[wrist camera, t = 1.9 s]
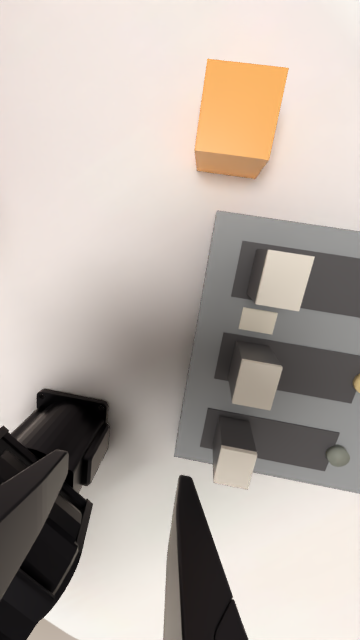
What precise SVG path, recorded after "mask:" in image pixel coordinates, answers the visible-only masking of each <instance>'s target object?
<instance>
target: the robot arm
mask: <svg viewBox="0 0 360 640" xmlns="http://www.w3.org/2000/svg"><path fill="white" fill-rule="evenodd" d="M42 394H43V395H44V396H45V397H44V396H43V395H42ZM101 406H103V407H104V408H102V407H101ZM107 418H108V403H107V402H106V401H103V400H97V399H92V398H87V397H82V396H76V395H71V394H66V393H61V392H55V391H50V390H45V389H42V390H41V391H39V392H38V393H37V409H36V410H35V411H34V412H33V413H32V414H31V415H30V416H29V417H28V418H27V419H26V420H25V421H24V422H23V423H22V424H21V425H20V426H19V427H17V428H16V429H15V430H14V431H13V432H12V433H11V434H10V433H9V432H8V431H9V430H8V429H7V428H5V427H4V426H2V427H1V428H0V640H26V639H27V638H28V636H29V635H30V633H31V632H32V630H33V629H34V627H35V625H36V624H37V623H38V622H39V621H40V620H41V619H42V618H44V617H45V616H46V614H47V613H48V612H49V611H50V610H51V609H52V608H53V606H54V605H55V604H56V603H57V601H58V600H59V598H60V597H61V595H62V594H63V592H64V591H65V589H66V587H67V586H68V584H69V582H70V580H71V578H72V576H73V574H74V572H75V570H76V568H77V565H78V563H79V560H80V556H81V553H82V549H83V544H84V540H85V536H86V532H87V527H88V523H89V519H90V514H91V510H92V506H93V503H91V502H90V501H89V500H88V499H84V498H83V497H82V496H81V495H80V494H79V491H80V489H81V487H82V485H84V486H88V485H89V484H91V482H92V480H93V478H94V476H95V474H96V472H97V470H98V468H99V465H100V463H101V461H102V460H103V458H104V455H105V453H106V451H107V449H108V443H109V431H110V426H109V424H107ZM232 598H233V596H232V593H231V590H230V587H229V584H228V581H227V578H226V575H225V572H224V569H223V567H222V564H221V561H220V558H219V555H218V552H217V549H216V546H215V543H214V541H213V538H212V535H211V532H210V529H209V526H208V523H207V520H206V517H205V514H204V512H203V509H202V506H201V503H200V500H199V497H198V494H197V491H196V488H195V486H194V483H193V480H192V478H191V477H189V476H184V475H180V476H179V479H178V485H177V490H176V495H175V502H174V509H173V516H172V523H171V530H170V537H169V544H168V552H167V565H166V588H165V611H164V634H163V640H248V637H247V635H246V632H245V629H244V626H243V624H242V621H241V618H240V615H239V613H238V610H237V607H236V604H235V601H234V600H233V599H232Z"/></svg>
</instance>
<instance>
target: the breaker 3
mask: <svg viewBox="0 0 360 640" xmlns="http://www.w3.org/2000/svg"><path fill="white" fill-rule="evenodd" d="M212 447H213V481H214V483H217V484H222V485H227V486H232V487H237V488H241V489H246V490H248V487H249V483H250V480H251V476H252V473H253V469H254V466H255V462H256V459H257V451H256V447H255V443H254V439H253V435H252V431H251V426H250V422H249V421H244V420H239V419H234V418H228V417H223V416H219V419H218V424H217V428H216V433H215V437H214V442H213V446H212Z"/></svg>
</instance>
